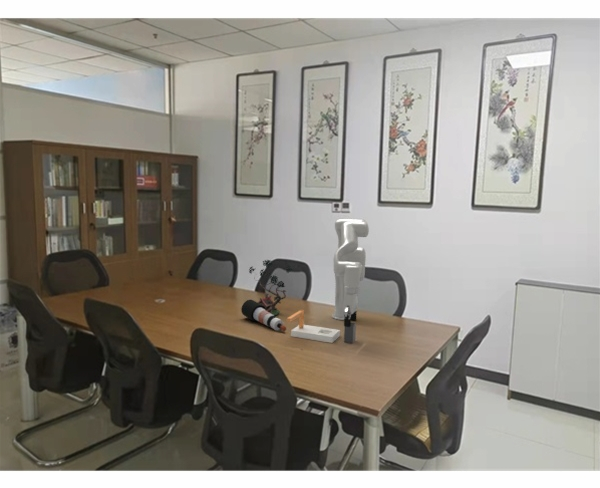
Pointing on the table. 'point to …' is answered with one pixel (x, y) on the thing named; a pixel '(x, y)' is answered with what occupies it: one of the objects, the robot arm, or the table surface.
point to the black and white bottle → (261, 315)
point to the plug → (350, 333)
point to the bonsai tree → (267, 301)
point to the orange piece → (296, 315)
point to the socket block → (316, 333)
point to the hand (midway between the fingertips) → (350, 323)
